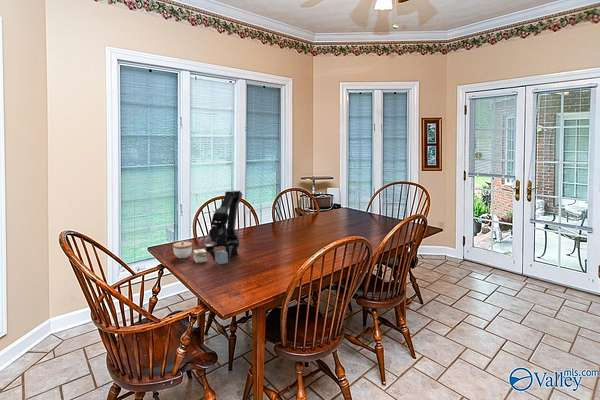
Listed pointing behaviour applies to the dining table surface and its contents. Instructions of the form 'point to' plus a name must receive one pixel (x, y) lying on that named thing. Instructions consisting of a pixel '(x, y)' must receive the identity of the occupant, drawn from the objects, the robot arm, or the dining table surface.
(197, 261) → the slab bottom
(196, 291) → the dining table surface
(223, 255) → the blue block
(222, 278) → the dining table surface
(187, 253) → the lidded jar
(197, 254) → the slab top
